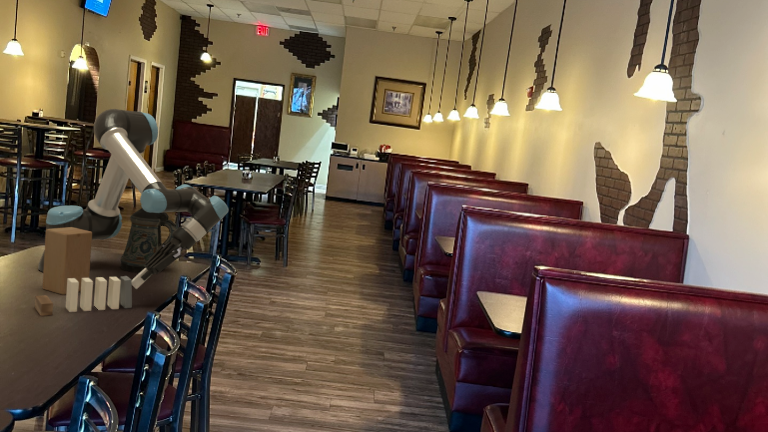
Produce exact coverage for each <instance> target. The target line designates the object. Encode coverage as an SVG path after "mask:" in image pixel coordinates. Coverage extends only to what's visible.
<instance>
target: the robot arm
mask: <svg viewBox="0 0 768 432" xmlns="http://www.w3.org/2000/svg"><path fill="white" fill-rule="evenodd" d="M93 134H94V136H95V139H96V141H97V142H98V144H99V145H100V146H101V148H102V149H104V150H107V151H108V152H109V153H110V157H109V160H108V163H107V166H106V168H105V171H104V173H103V176H102V179H101V181H100V184H99V187H98V189H97V192H96V194H95V197H94V199H91V200H89V201H88V203H87V206H86V208H85V209H83V207H82V206H78V205H60V206H54V207H51V208H50V209H49V210H48V212H47V216H46V220H45V223H46V225H45V226H46V227H45V230H46V229H54V228H66V227H73V228H78V229H82V230H86V231H91V232H92V240H94V241H96V240H107V239H112V238H115V237H116V236H117V235H118V234H119V233H120V232H121V229H122V228H123V227H122V226H123V222H122V220H123V217H122V214H121V210H120V208H119V204H120V202H121V199H122V197H123V194H124V192H125V190H126V187H127V184H128V182H129V180H130V181H131V183H132V184H133V185H134V186H135V188H136V189H137V190H138V192H139V193H140V194H141V195H140V201H139V202H140V204H141V205H140V206H141V208H143V209H144V210H145V211H147V212H154V213H161V212H165V213H178V212H179V213H181V212H187V213H189V214H190V217H188V218H186V219H185V221H184V222H183V223H182V224H181V226H178V227H176V230H175V231H174V232H173V233H172V236H173V237H174V239H172V240H171V241H169V242H168V243H167V244H165V243H164V242H162V244H161V246H160V248H159V249H158V250H157V251H156V252H155V253H154V254H153V255H152V257H151V258H150V259H149V260H148V261H147V262H146V263H145V265H146V266H145V268H144V269H143V270H142V271H141V272H140V273H138V274H136V276H134V278H133V279H131V280H132V286H133V288H134V289H136V290H138V288H140V287H141V286H142V285H144V283H145V282H146V281H147V280H148V279H150V277H152V275H155V274H156V275H158V274H160V273H161V272H162V271H163V270H164V269H166V268H167V267H169V266H170V265H171V264H172V263H174V262H175V261H176V260H178V259H180V258H182V256H183V255H182V253H181V252H183V250H184V249H186V250H190V249H191V248H192V247H194V246H195V244H196V242H199V241H200V240H201V239H202V238H203V237H204V236H206V235H207V233H208V232H209V231H210V230H211V229H212V228H213V227H215V225H217V224H218V223H219V222H220V221H221V220H222V219H223V218H224V217H225V216H226V215H227V214H228V213H229V207H228V205H227V204H226V202H225V201H224V200H223V199H221V198H220V197H219V196H217V195H212V196H211V197H209V198H208V197H206V196H205V195H204V194H202V193H201V192H200V191H198V190H197V189H196V188H194V187H193V186H191V185H189V184H187V183H186V184H185V183H184V184H181V185H180V186H177V187H176V188H175V189H174V188H172V189H170V188H167V187H166V185H165V184H163V182H162V180H161V179H160V178H159V177H158V175H157V174H156V173H155V171H154V170H153V169H152V167H150V165H149V164H148V163H147V161H146V160H145V158H143V156H142V154H144V152H145V150H146V149H147V148H146V147H147V146H151V145H153V144H155V142H157V139H158V138H159V137H158V135H159V128H158V123H157V121H156V118H154V116H152V115H151V114H150V113H147V112H143V111H133V110H126V109H125V110H124V109H120V108H119V109H118V108H110V109H106V110H104V111H102V112H100V114H99V115H97V117H96V119H95V120H94V124H93ZM43 250H44V251H43V252H42V255H41V258H40V260H39V262H38V271H39V270H40V271H39V272H42V273H43V270H44V254H45V249H43Z"/></svg>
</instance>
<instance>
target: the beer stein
mask: <svg viewBox="0 0 768 432" xmlns="http://www.w3.org/2000/svg"><path fill="white" fill-rule="evenodd" d="M129 217H130V218H129V220H130V222H131V225H130V228H129V234H128V238H127V241H126V245H125V248H124V251H123V254H122V255H121V257H120V269H122V270H123V271H126V272H131V273H138V274H139V273H140V272H141V271H142V270H143V269H144V268H145V266H146V265H145V263H146V262H147V261H148V260H149V259H150V258H151V257H152V255H153V254H154V253H155V252H156V251H157V250H158V249H159V248H160V246H161V244H162V243H165V244H167V243H168V242H169V241H171V240H172V239H174V237H173V236H172V233H173V232H174V231H175V230H176V229H177V226H176V223H175V222H174V221H172V220H171V219H169V218H170V217H169V215H168V212H161V213H154V212H147V211H145V210H144V209H143V208H142V207H141V208H139V209H138V210H136V211H135V212H133V213H132V214H131V215H130V216H129ZM161 227H165V228H167V229H168V231H169V234H168V236H167V238H166V239H165V240H164V241H163V240H162V228H161ZM162 241H163V242H162Z"/></svg>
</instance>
